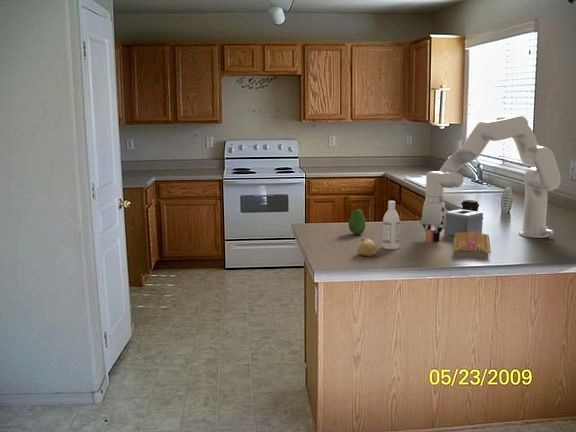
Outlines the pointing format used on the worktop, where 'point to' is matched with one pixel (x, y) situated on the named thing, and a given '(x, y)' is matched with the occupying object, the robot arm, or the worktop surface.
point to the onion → (366, 247)
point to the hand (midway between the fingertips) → (432, 239)
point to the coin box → (463, 222)
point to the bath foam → (391, 227)
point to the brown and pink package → (471, 245)
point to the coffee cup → (470, 205)
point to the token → (430, 235)
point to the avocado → (357, 222)
